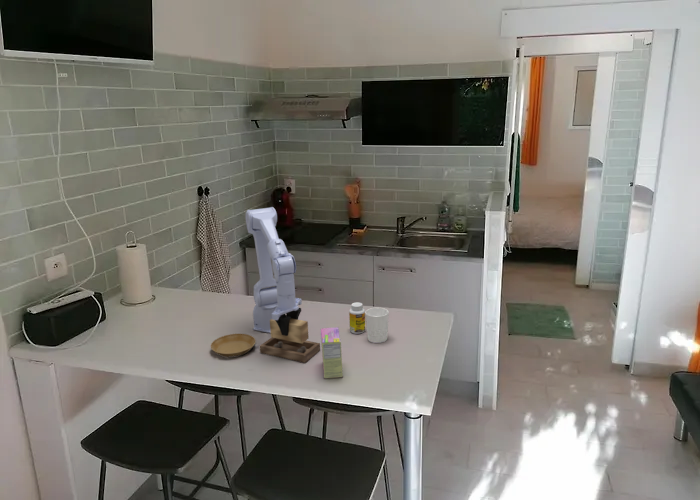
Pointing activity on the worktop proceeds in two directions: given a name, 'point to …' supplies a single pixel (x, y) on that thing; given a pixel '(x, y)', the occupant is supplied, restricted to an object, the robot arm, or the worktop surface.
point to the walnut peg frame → (290, 349)
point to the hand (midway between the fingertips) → (288, 332)
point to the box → (331, 352)
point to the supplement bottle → (357, 318)
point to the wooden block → (291, 331)
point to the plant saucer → (233, 345)
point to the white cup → (377, 324)
